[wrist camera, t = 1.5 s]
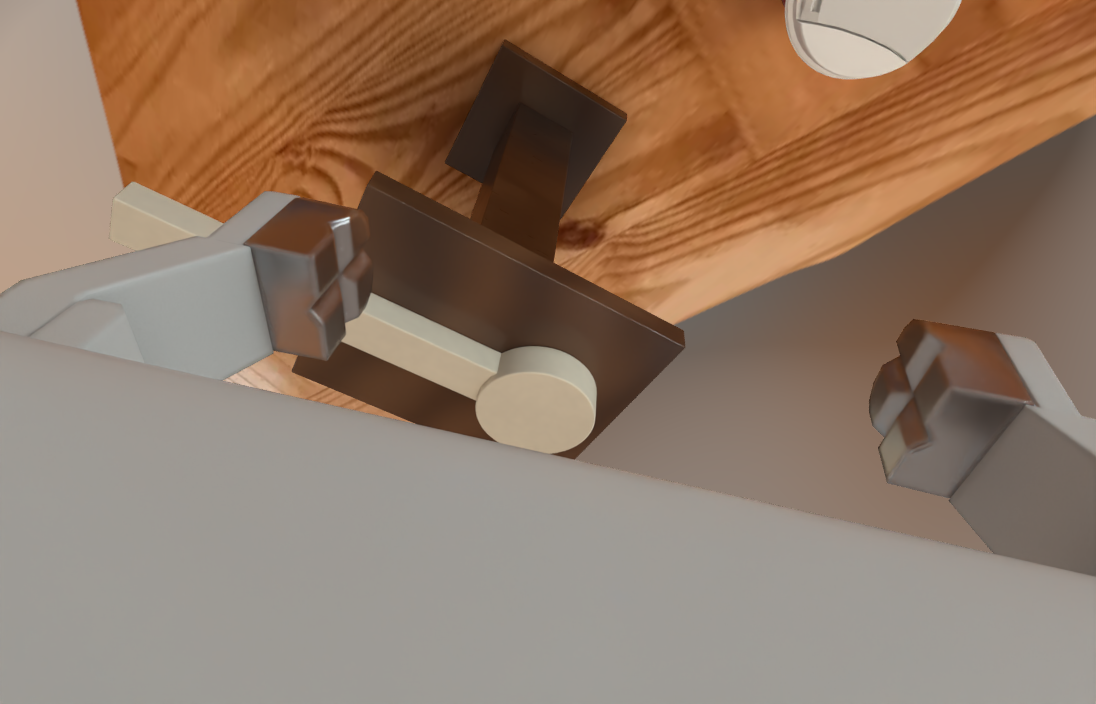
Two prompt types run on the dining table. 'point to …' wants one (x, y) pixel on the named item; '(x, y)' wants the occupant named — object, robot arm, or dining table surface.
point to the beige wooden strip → (419, 345)
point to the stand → (503, 256)
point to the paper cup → (864, 33)
